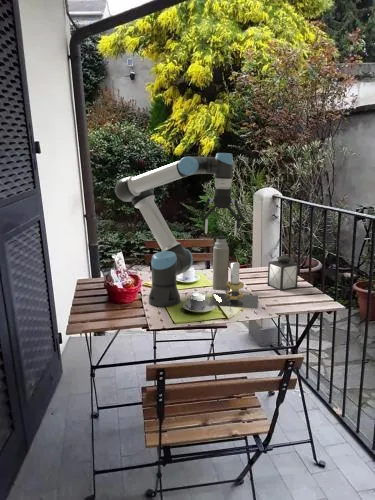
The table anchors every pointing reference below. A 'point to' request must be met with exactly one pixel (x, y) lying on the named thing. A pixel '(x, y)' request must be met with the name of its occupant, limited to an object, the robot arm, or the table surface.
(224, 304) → the collar stand
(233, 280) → the tube
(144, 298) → the table surface
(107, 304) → the table surface
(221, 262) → the thermos bottle
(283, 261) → the lantern
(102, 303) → the table surface
